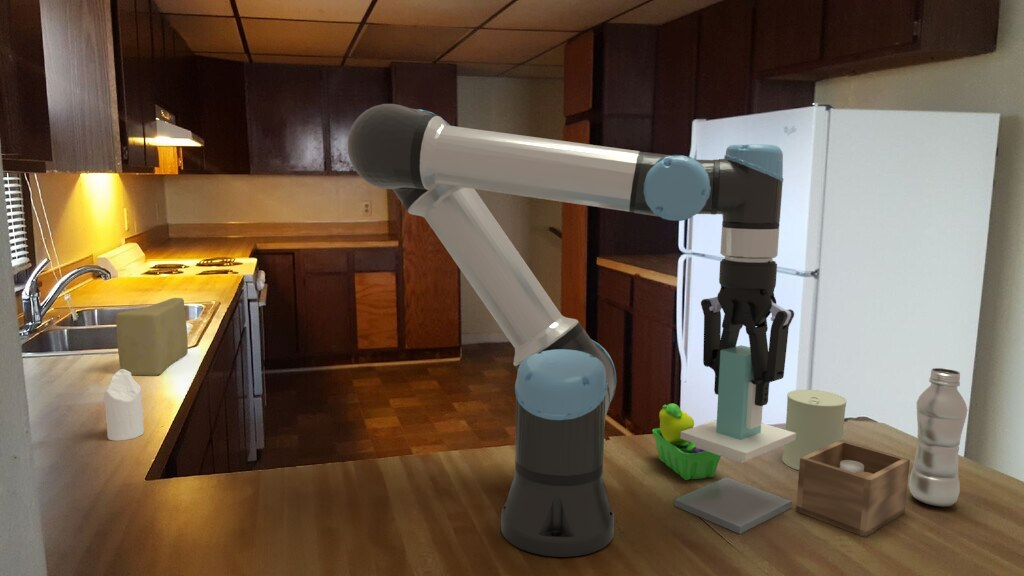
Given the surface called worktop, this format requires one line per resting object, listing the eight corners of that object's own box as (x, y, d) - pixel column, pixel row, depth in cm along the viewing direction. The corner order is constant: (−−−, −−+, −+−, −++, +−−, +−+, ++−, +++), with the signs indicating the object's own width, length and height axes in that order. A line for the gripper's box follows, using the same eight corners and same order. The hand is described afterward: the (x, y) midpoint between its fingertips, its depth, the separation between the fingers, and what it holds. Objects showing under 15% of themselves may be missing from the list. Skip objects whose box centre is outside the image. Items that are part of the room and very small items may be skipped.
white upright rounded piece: (109, 376, 128) (96, 370, 132) (114, 443, 130) (101, 435, 133) (145, 369, 132) (132, 364, 136) (149, 434, 134) (136, 427, 138)
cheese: (167, 353, 194) (163, 296, 192) (203, 354, 194) (200, 296, 191) (117, 375, 172) (113, 311, 170) (158, 376, 172) (155, 312, 170)
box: (865, 537, 100) (870, 480, 99) (795, 511, 107) (800, 457, 106) (904, 512, 108) (909, 459, 106) (837, 489, 115) (841, 439, 114)
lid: (744, 469, 99) (751, 364, 97) (680, 446, 107) (684, 349, 105) (795, 447, 107) (801, 351, 105) (731, 428, 115) (736, 338, 113)
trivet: (739, 534, 100) (740, 527, 100) (673, 505, 109) (674, 499, 108) (791, 507, 109) (791, 501, 108) (726, 483, 117) (726, 477, 117)
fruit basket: (725, 479, 118) (729, 410, 117) (675, 485, 116) (678, 415, 114) (689, 453, 129) (692, 390, 128) (642, 458, 127) (645, 394, 125)
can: (778, 467, 124) (783, 397, 122) (786, 449, 132) (791, 383, 130) (838, 478, 119) (844, 406, 118) (843, 459, 128) (849, 391, 126)
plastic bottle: (933, 514, 107) (947, 378, 104) (896, 495, 114) (909, 366, 111) (968, 509, 109) (984, 376, 106) (931, 490, 115) (944, 364, 112)
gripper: (821, 262, 99) (809, 432, 103) (712, 251, 112) (704, 402, 115) (791, 266, 94) (779, 444, 98) (681, 254, 107) (674, 412, 111)
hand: (739, 421), depth 107 cm, fingers closed on lid, 4 cm apart
